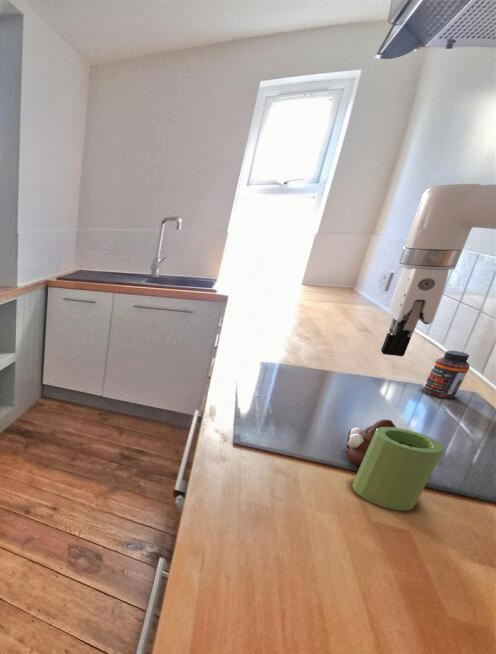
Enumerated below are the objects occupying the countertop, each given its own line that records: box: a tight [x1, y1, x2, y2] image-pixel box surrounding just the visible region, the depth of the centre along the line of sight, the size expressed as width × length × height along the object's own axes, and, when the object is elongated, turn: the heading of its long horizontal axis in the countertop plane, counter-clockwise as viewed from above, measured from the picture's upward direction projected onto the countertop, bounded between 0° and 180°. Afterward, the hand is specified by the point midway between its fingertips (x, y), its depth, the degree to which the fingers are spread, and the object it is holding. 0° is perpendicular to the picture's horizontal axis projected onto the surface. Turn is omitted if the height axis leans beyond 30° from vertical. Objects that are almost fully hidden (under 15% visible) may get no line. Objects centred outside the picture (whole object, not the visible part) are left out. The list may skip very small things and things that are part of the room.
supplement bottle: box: [422, 350, 471, 399], centre depth 104 cm, size 6×6×11 cm
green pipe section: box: [352, 427, 445, 512], centre depth 67 cm, size 8×8×11 cm
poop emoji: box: [345, 418, 397, 468], centre depth 77 cm, size 10×8×9 cm
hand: (391, 354), depth 82 cm, fingers closed
